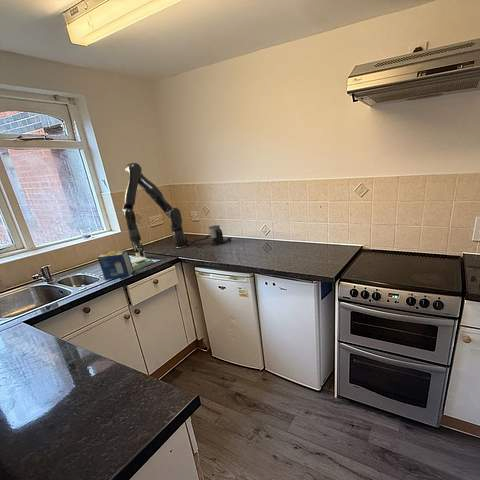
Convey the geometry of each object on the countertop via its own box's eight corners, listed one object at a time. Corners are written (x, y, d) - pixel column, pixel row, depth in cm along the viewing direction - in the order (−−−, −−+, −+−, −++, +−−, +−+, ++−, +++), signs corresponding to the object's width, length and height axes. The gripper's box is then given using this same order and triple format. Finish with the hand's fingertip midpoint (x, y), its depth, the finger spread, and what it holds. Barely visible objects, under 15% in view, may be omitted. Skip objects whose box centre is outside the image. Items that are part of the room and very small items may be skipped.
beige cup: (143, 256, 236) (141, 250, 235) (147, 257, 232) (145, 251, 231) (136, 259, 232) (134, 253, 231) (139, 260, 228) (137, 254, 226)
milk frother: (209, 245, 248) (206, 227, 243) (222, 239, 260) (219, 223, 255) (222, 246, 241) (219, 228, 235) (234, 240, 253) (231, 223, 248)
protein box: (111, 274, 204) (104, 252, 198) (134, 271, 204) (127, 249, 199) (104, 279, 194) (96, 257, 189) (128, 276, 195) (121, 254, 189)
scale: (142, 259, 229) (141, 255, 228) (152, 262, 218) (151, 258, 217) (124, 265, 220) (122, 261, 219) (133, 269, 209) (132, 264, 208)
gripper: (143, 234, 223) (149, 255, 229) (135, 233, 233) (140, 253, 239) (133, 236, 218) (139, 258, 224) (125, 235, 228) (131, 256, 234)
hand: (140, 255), depth 231 cm, fingers open, 6 cm apart
